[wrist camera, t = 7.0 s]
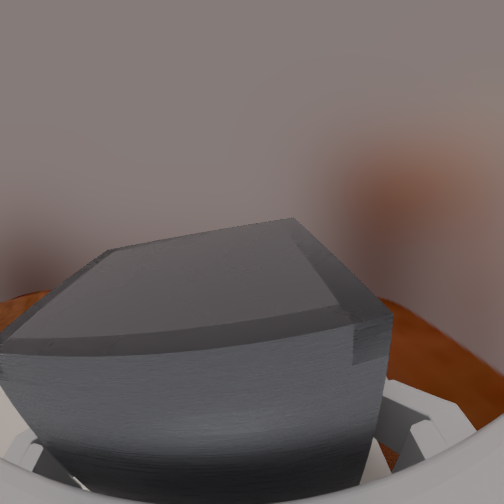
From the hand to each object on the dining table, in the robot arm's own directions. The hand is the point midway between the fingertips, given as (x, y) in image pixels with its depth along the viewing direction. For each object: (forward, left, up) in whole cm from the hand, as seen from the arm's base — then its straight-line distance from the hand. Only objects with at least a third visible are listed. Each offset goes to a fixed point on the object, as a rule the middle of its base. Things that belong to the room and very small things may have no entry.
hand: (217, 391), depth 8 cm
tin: (+1, 0, -6) cm, 6 cm away
